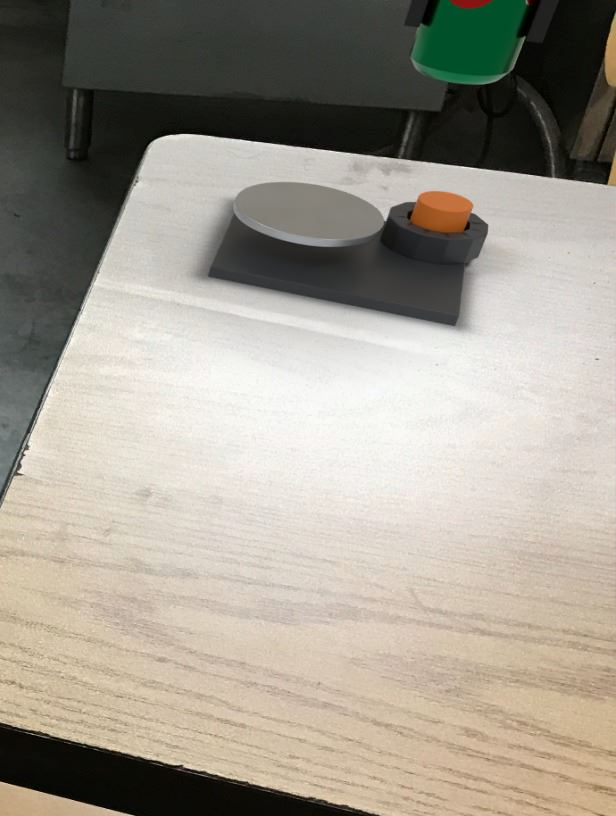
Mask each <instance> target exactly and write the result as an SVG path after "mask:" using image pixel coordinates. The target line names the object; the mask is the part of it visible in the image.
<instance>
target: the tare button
mask: <svg viewBox="0 0 616 816" xmlns="http://www.w3.org/2000/svg"><path fill="white" fill-rule="evenodd" d="M415 202H416V205H415V207H414V210H413V213H412V215H411V218H410V221H411V222H412V223H413V224H415V225H418V226H421V227H423V228H426V229H428V230H434V231H440V232H445V233H451V232H463V231H464V229H465V227H466V224H467V222H468V219H469V217H470V214H471V213H472V211H473V209H474V203H473V202H472V201H471V200H470V199H468V198H466V197H465V196H462V195H459V194H457V193H453V192H450V191H449V192H448V191H441V190H429V191H424V192H421V193H420V194H419V195H418V197H417V199H416V201H415Z"/></svg>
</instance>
